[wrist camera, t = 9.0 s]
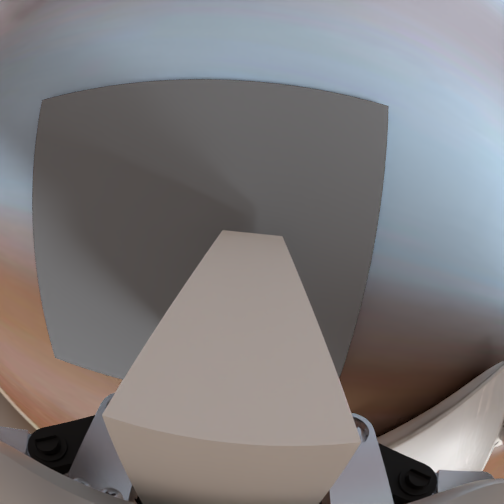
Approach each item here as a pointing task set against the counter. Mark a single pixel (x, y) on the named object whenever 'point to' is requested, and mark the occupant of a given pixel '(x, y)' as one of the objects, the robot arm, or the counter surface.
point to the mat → (197, 202)
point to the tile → (234, 389)
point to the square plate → (456, 427)
